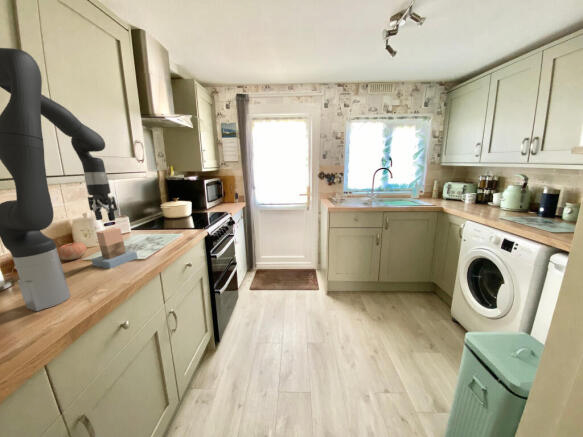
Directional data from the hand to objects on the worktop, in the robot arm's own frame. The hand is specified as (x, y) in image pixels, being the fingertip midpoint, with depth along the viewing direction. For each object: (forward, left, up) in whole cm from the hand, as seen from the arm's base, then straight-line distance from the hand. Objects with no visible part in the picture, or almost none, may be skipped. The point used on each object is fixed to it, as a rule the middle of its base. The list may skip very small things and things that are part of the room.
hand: (105, 220), depth 101 cm
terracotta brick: (0, 0, -11) cm, 11 cm away
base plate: (0, 0, -20) cm, 20 cm away
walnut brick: (0, 0, -17) cm, 17 cm away
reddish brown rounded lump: (-3, +26, -20) cm, 33 cm away
